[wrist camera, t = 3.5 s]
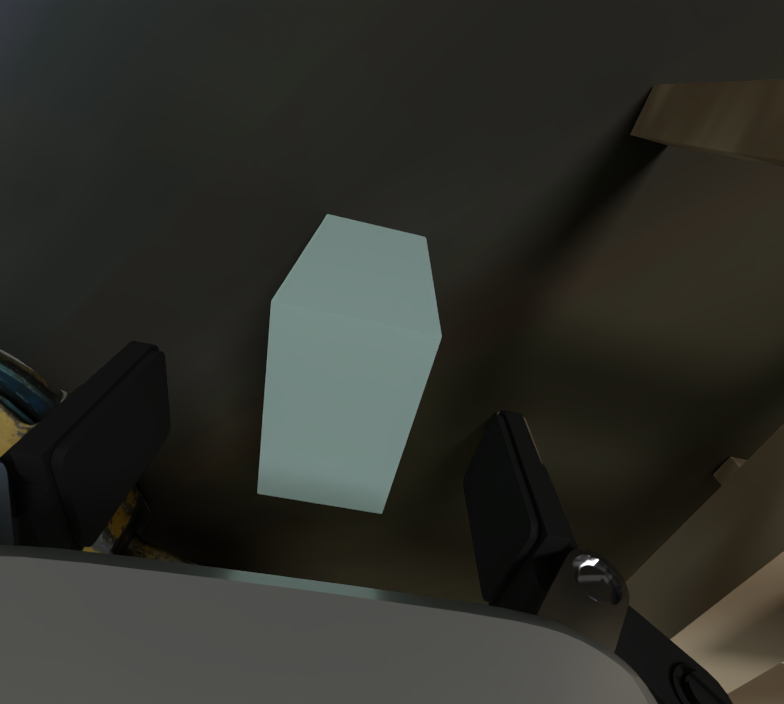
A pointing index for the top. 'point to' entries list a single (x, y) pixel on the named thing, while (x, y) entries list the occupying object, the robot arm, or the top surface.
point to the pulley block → (25, 410)
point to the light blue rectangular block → (347, 365)
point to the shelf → (737, 476)
